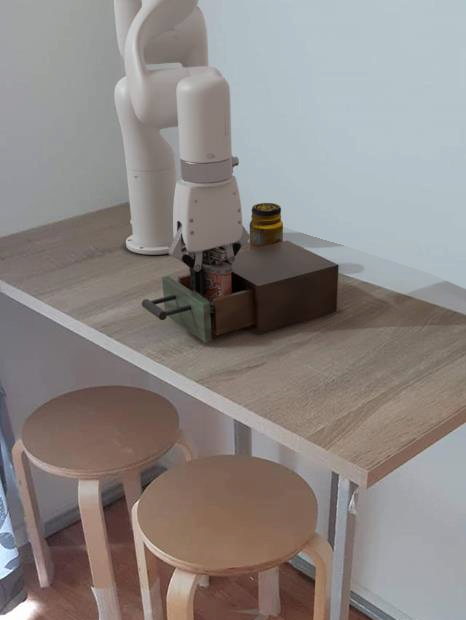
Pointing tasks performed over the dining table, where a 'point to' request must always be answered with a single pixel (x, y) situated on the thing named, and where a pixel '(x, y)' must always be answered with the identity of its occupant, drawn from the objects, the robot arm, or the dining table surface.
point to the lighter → (216, 275)
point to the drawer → (205, 308)
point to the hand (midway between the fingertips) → (211, 288)
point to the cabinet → (287, 284)
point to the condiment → (265, 225)
